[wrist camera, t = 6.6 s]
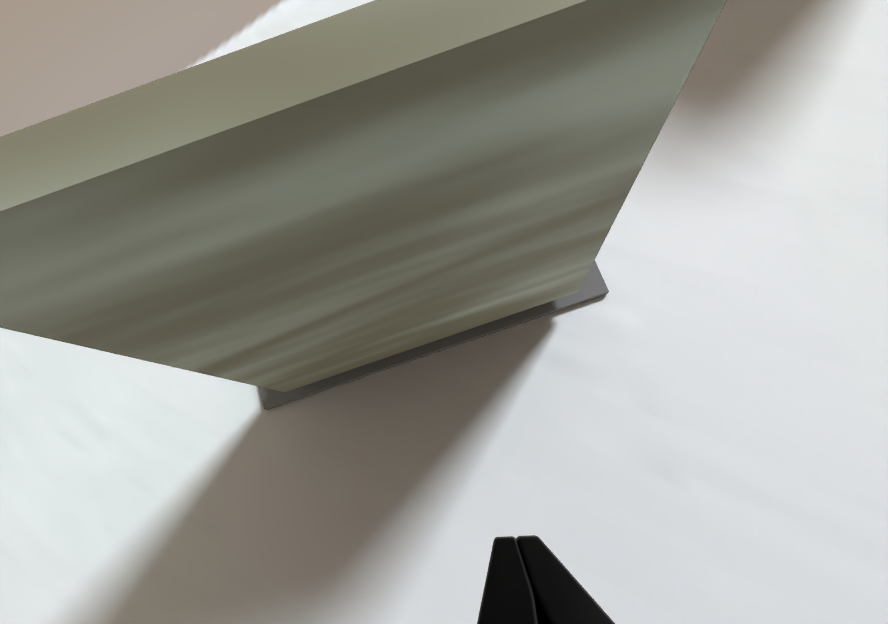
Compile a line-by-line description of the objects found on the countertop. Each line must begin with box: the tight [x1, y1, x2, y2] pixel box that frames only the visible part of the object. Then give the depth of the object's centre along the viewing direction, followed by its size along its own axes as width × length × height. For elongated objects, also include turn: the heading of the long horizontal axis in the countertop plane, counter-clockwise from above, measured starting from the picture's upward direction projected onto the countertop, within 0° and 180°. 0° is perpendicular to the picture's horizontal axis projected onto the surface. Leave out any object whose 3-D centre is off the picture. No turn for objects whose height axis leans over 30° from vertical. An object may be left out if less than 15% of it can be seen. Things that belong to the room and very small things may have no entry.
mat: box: [260, 260, 609, 410], centre depth 22 cm, size 14×16×1 cm
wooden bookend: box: [0, 0, 727, 392], centre depth 14 cm, size 10×13×15 cm
